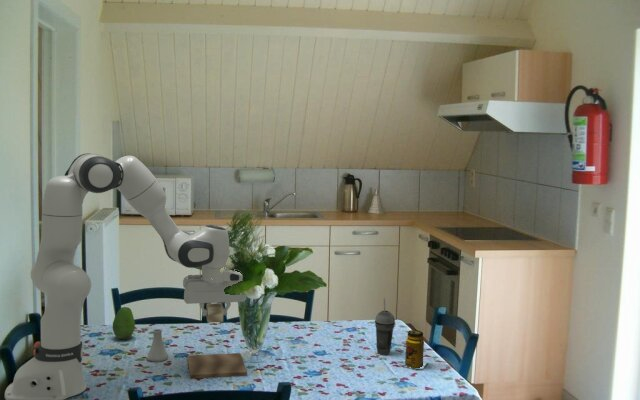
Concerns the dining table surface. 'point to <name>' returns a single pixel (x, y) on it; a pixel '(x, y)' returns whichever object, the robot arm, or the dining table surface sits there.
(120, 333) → the avocado
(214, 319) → the birch cube
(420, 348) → the condiment
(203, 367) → the walnut board
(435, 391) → the dining table surface
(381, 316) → the beverage cup
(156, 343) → the flask
